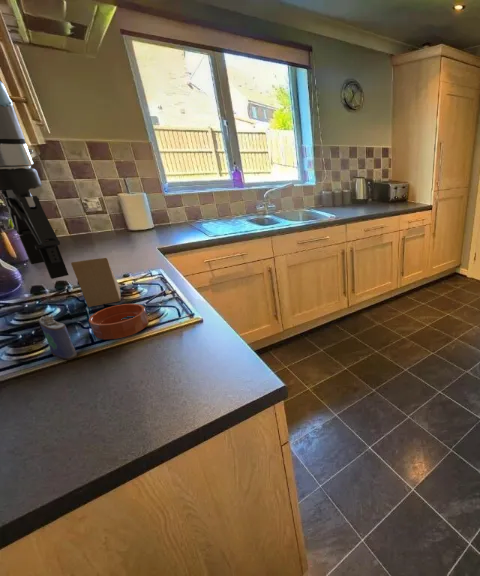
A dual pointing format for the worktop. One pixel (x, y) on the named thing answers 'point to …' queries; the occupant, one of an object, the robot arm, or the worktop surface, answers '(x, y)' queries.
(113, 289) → the sandwich container
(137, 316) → the bowl
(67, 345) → the flask
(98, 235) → the worktop surface
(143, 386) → the worktop surface
